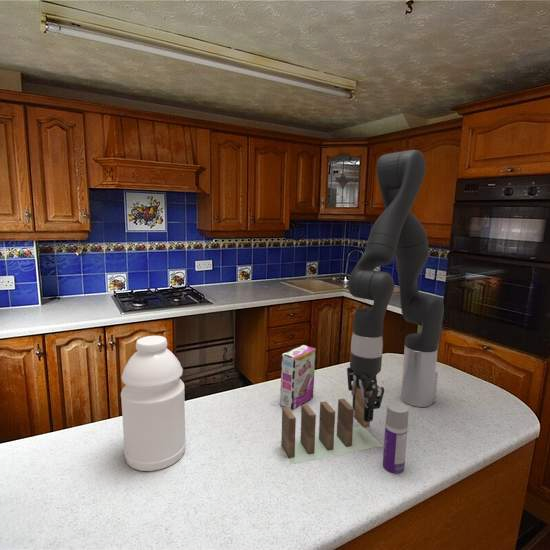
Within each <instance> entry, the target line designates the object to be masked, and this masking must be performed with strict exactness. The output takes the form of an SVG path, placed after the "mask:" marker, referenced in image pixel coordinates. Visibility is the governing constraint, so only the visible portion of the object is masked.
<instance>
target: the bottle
mask: <svg viewBox="0 0 550 550" xmlns="http://www.w3.org/2000/svg"><path fill="white" fill-rule="evenodd" d="M135 350H136V351H135V352H133V354H132V356H130V358H129V359H128V360H127V363H126V365H125V366H124V369H123V370H122V371H123V372H122V375H121V381H122V383H123V384H124V385H125V386H123V388H122V389H121V392H120V399H121V401H120V402H121V413H122V431H123V433H122V434H123V446H124V447H123V448H124V449H123V453H124V458H125V461H126V464H127V465H128V466H129V467H130V468H132V469H134V470H137V471H141V472H142V471H143V472H144V471H145V472H153V471H158V470H162V469H165V468H168V467H169V466H172V465H174V464H175V463H176V462H178V461H179V460H181V458H182V457H183V455H184V454H185V452H186V442H187V439H186V411H185V409H186V408H185V389H186V388H185V383H184V381H182V379H181V377H182V376H183V370H184V368H183V367H182V365H181V362H180V361H179V359H178V358H177V356H175V354H174V353H173V352H172V351H171V350H170V349H168V339H167V338H166V337H165V336H163V335H147V336H142V337H140V338H138V339H137V341H136V342H135Z"/></svg>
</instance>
